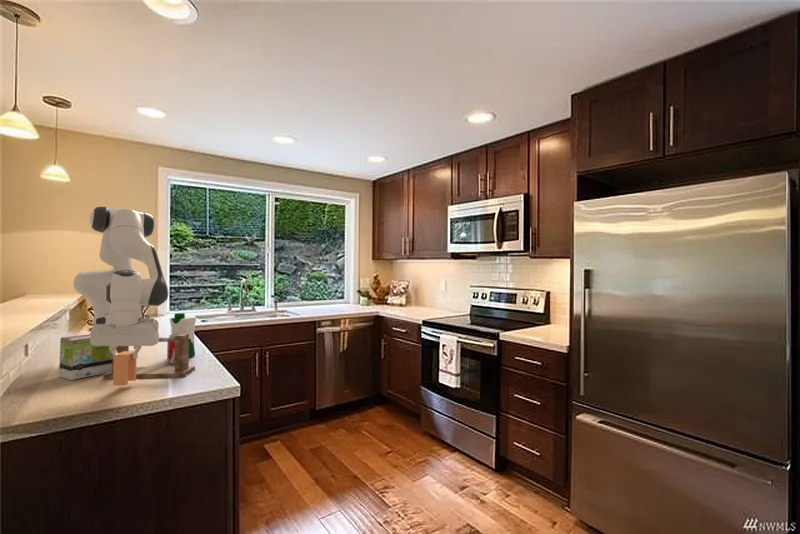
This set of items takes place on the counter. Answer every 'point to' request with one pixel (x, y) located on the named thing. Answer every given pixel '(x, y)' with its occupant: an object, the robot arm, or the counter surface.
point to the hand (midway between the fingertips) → (125, 358)
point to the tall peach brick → (124, 368)
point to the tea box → (83, 358)
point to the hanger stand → (177, 371)
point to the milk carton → (184, 328)
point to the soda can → (171, 350)
